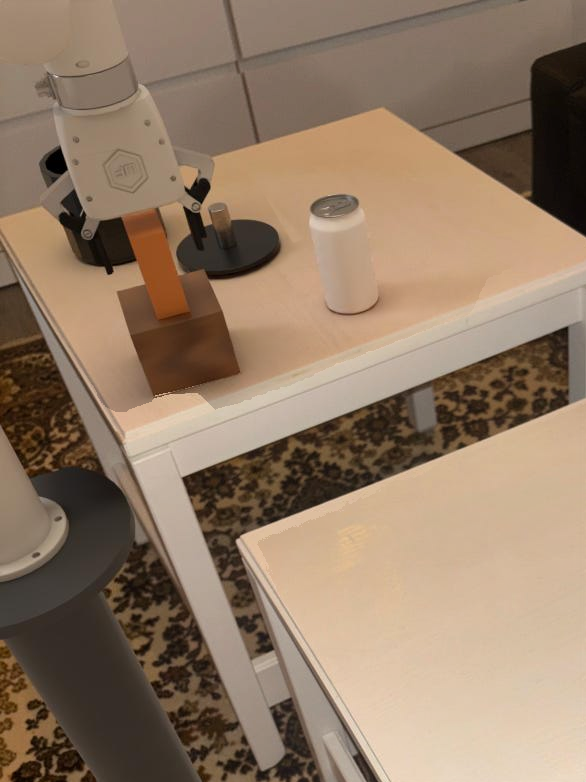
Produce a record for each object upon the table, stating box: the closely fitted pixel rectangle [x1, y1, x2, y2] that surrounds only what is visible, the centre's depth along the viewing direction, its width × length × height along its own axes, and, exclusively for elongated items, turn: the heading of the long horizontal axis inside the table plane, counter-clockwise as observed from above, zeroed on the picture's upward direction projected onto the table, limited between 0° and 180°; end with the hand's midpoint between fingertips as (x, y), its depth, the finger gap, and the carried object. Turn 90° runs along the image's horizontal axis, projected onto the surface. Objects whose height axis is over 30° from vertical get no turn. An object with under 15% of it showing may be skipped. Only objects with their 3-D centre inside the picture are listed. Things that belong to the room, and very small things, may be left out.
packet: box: [122, 209, 190, 320], centre depth 104 cm, size 4×7×9 cm, turn 22°
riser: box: [116, 269, 242, 396], centre depth 111 cm, size 10×10×8 cm
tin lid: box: [175, 202, 281, 276], centre depth 128 cm, size 14×14×6 cm
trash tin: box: [38, 145, 167, 266], centre depth 130 cm, size 13×13×12 cm
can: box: [308, 193, 379, 315], centre depth 115 cm, size 6×6×12 cm
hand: (154, 257), depth 104 cm, fingers open, 9 cm apart
